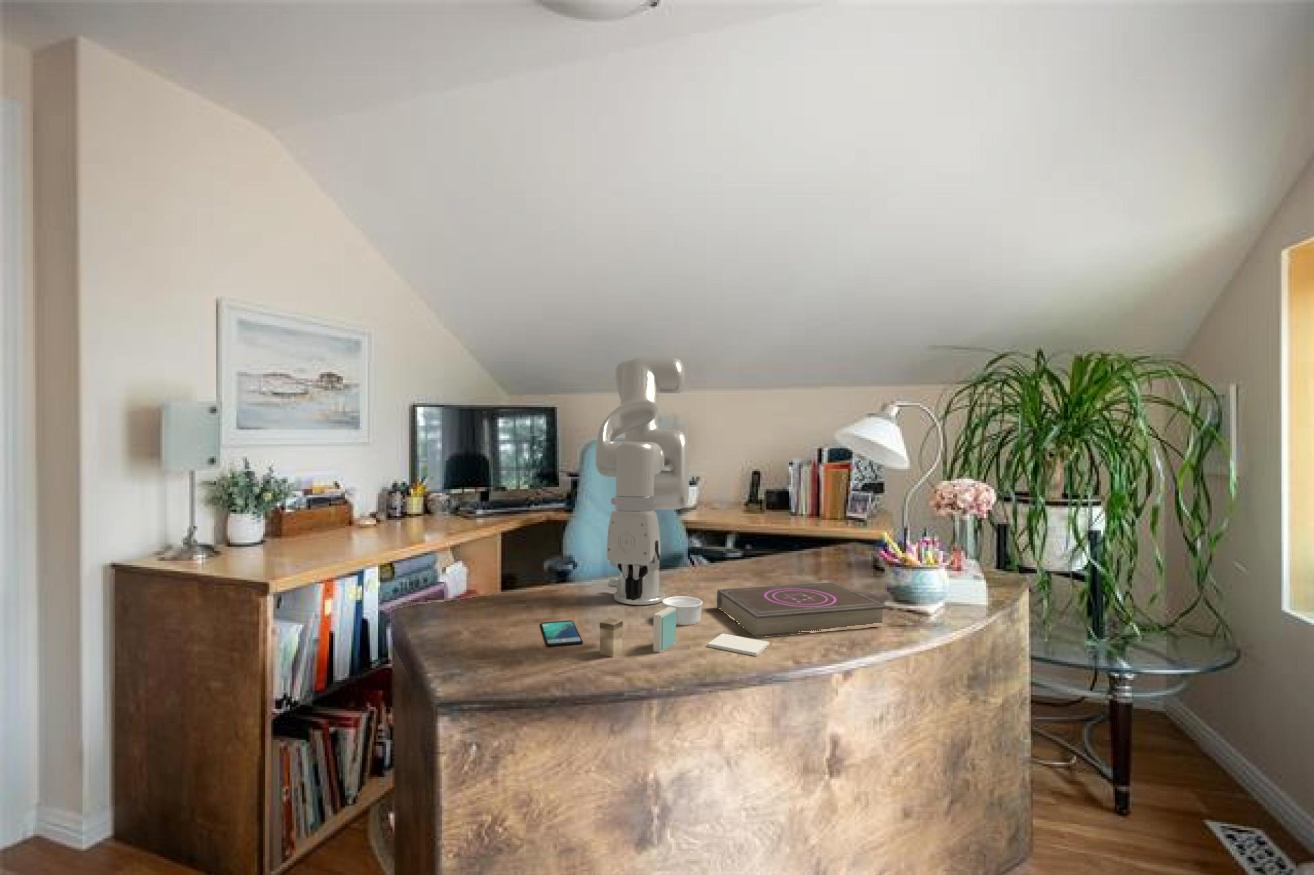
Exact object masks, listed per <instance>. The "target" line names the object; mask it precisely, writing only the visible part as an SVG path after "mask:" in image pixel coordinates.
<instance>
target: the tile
mask: <svg viewBox="0 0 1314 875" xmlns="http://www.w3.org/2000/svg"><path fill="white" fill-rule="evenodd" d="M652 620H653V625H652V626H653V632H652V633H653V638H652V639H653V642H652V646H653V648H652V652H655V653H663V652H664V651H667V650H668V649H670V647H673V646H674V645H675V644H676V641H677V638H676V637H677V635H676V634H677V631H676V630H677V627H676V626H677V625H676V608H674V607H667V608H665V609H662V610H659V611H657V612H655V613H654V614H653V619H652Z"/></svg>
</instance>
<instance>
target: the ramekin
mask: <svg viewBox="0 0 1314 875" xmlns="http://www.w3.org/2000/svg"><path fill="white" fill-rule="evenodd" d="M661 604H662V606H663V607H662V608H663V609H665V608H667V607H674V608H676V626H692V625H696V624H698V623H700V621H701V618H702V617H701V616H702V608H703V607H702V606H703V604H704V602H703V600H701V599H699V598H698V597H697V598H696V597H693V596H684V595H683V596H682V595H680V596H677V595H676V596H671V597H670V596H669V597H665V599H664V600H663V601H661ZM663 609H662V610H663Z"/></svg>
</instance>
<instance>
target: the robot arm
mask: <svg viewBox="0 0 1314 875" xmlns="http://www.w3.org/2000/svg"><path fill="white" fill-rule="evenodd" d="M615 382H616V383H615V384H616V388H617V392H618V396H619V399H620V406H617V407H616V408H615V409H614V410H612V412H611V413H609V415H608V416H607V417H606V418H605V419H604V420H603V421H602V423H601V424H600V427H599V429H598V433H597V437H596V438H597V439H596V440H597V441H596V448H595V468H596V470H597V472H598V473H599V474H600V475H601V476H603V477H606V478H615V496H614V497H612V498H611V499H610V504H611V505H614V508H615V510H613V511H611V515H610V517H609V524H608V529H607V536H606V537H607V538H606V539H607V540H606V559H607V560H608V561H609V565H610V566H611V567H614V568H616V569H618V570H619V571H620V578H618V577H612V576H611V577H610V578H609V581H608V584H607V586H608V587H611V588H615V589H616V591H615V592H614V594H613V599H614V600H615V601H616V602H618V603H620V604H624V605H625V604H627V605H633V606H644V605H645V606H646V605H654V604H659V603H660V602H661V603H662V601H663V600H664V599H665V598H666V593H665V592H664V591H663V590H660V558H661V534H660V533H661V532H660V526H659V524H660V523H659V520H658V514H657V512H656V511H655V510H682V509H684V508H685V507H686V506H687V504H688V501H689V496H690V480H689V479H690V478H689V476H690V475H689V474H690V473H689V471H690V469H689V466H690V465H689V464H690V463H689V444H688V439H687V436H686V435H685V433H684V432H683V431H682V430H679V429H660V428H659V422H660V421H659V418H660V417H659V394H678V395H679V394H681V392H682V391H683V390H684V387H685V382H686V372H685V367H684V364H683V361H682V360H680V359H679V358H676V357H647V356H646V357H645V356H644V357H636V358H631V359H627V360H623V361H621V362H619V363H618V364H617V366H616V368H615ZM623 434H624V440H623V441H621V440H619V441H617V440H615V439H616V438H617V437H618V436H620V435H623ZM664 468H668V469H669V470H663V469H664Z"/></svg>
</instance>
